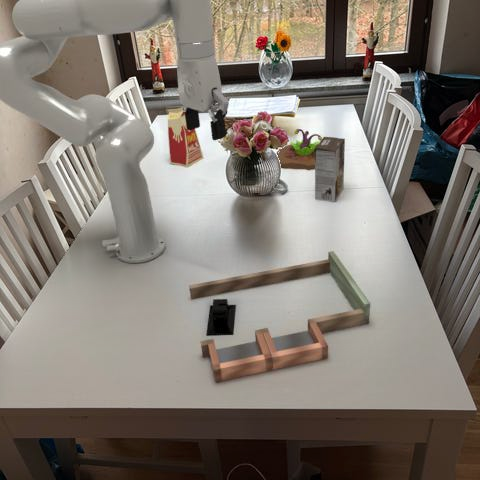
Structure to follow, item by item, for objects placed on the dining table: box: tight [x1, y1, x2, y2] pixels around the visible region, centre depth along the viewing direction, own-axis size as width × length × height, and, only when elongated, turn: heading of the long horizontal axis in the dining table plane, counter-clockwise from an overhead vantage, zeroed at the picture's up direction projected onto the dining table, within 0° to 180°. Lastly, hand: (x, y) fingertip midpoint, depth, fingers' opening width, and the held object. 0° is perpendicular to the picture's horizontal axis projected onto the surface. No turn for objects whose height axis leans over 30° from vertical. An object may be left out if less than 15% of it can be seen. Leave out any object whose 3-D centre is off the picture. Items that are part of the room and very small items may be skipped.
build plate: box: [205, 298, 237, 337], centre depth 101 cm, size 12×7×5 cm, turn 178°
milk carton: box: [167, 106, 204, 168], centre depth 172 cm, size 9×9×20 cm
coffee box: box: [314, 136, 346, 203], centre depth 142 cm, size 9×6×16 cm
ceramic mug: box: [258, 178, 289, 196], centre depth 149 cm, size 11×8×8 cm
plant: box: [275, 128, 323, 171], centre depth 168 cm, size 20×20×11 cm
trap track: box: [188, 250, 371, 383], centre depth 99 cm, size 33×26×5 cm
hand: (206, 133), depth 106 cm, fingers open, 9 cm apart
